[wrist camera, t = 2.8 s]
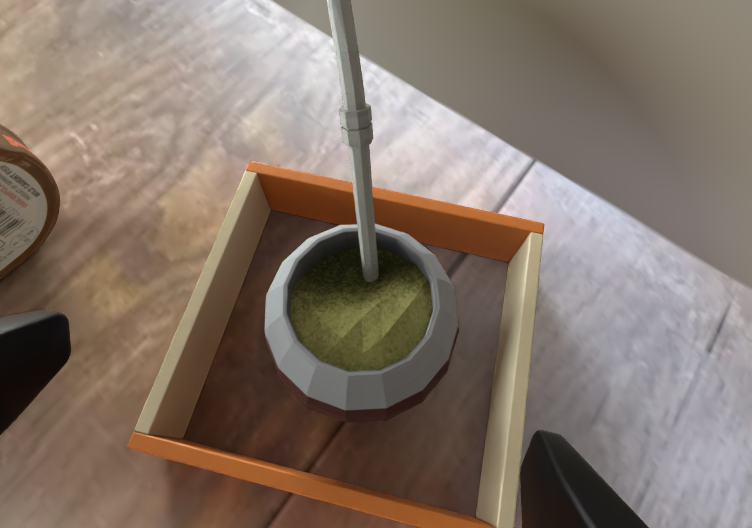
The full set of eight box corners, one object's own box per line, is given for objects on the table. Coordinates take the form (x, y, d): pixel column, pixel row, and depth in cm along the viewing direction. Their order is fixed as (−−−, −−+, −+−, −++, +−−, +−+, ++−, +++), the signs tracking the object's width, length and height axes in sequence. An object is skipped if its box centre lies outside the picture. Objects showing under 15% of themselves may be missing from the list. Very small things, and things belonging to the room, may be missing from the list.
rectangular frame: (487, 537, 19) (512, 552, 15) (164, 450, 20) (125, 447, 17) (521, 255, 24) (544, 222, 21) (264, 198, 25) (249, 160, 22)
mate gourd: (368, 466, 20) (369, 473, 6) (246, 345, 22) (36, 141, 8) (471, 341, 22) (646, 135, 8) (352, 242, 24) (333, -53, 10)
